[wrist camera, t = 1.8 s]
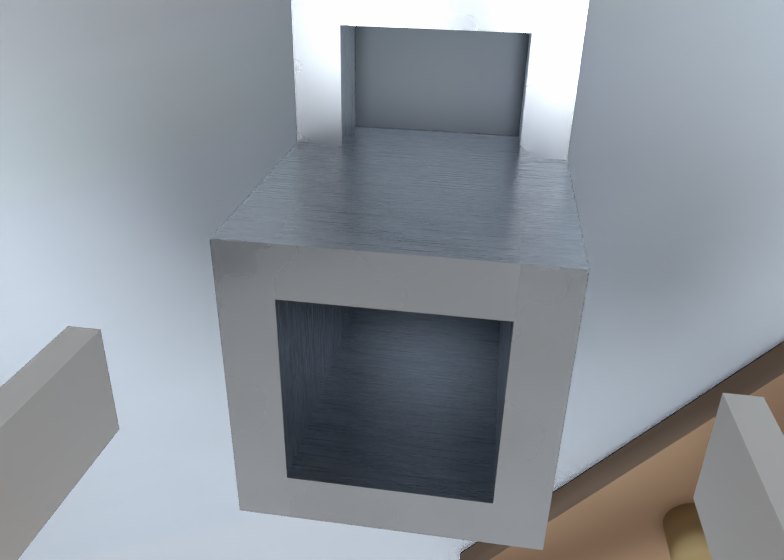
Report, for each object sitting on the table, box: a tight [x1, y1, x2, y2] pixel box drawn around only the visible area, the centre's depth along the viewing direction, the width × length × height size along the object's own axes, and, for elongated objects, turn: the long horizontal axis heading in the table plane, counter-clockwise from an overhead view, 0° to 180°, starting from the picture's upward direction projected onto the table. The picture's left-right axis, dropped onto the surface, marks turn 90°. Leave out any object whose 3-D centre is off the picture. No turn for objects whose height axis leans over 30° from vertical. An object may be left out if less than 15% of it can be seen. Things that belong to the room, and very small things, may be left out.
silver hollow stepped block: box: [210, 0, 589, 550], centre depth 18 cm, size 16×7×8 cm, turn 179°
